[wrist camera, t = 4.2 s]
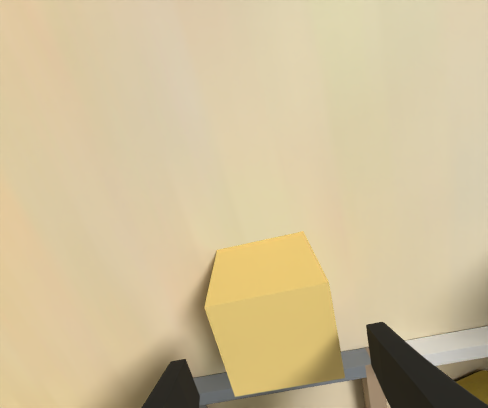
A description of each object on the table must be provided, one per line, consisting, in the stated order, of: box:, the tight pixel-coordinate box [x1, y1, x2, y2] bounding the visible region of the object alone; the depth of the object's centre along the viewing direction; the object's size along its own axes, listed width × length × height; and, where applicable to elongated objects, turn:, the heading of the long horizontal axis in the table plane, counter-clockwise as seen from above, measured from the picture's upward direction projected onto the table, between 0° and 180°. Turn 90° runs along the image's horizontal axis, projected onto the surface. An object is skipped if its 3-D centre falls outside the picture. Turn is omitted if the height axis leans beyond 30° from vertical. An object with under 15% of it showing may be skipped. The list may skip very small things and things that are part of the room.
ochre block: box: [204, 232, 345, 397], centre depth 14 cm, size 5×5×5 cm
